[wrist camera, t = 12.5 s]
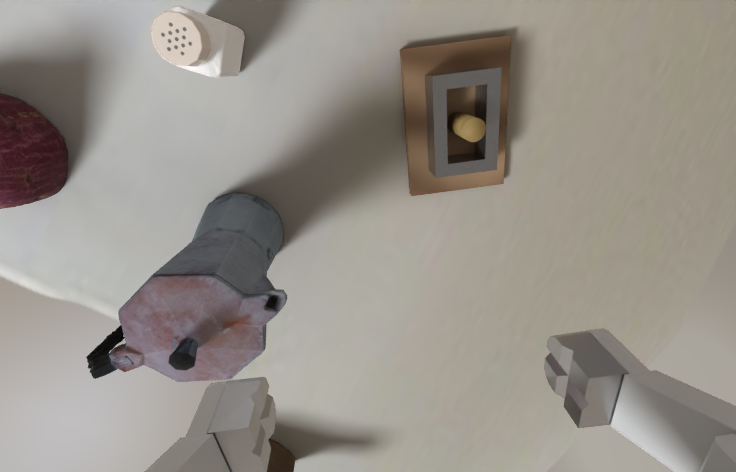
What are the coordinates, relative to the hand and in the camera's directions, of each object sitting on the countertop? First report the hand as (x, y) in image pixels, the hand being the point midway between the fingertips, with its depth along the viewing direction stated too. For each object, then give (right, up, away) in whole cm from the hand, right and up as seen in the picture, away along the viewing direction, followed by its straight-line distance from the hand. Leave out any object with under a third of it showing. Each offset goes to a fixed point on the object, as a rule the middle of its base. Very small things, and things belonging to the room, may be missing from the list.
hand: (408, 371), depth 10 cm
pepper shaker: (-14, +21, +22) cm, 33 cm away
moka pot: (-15, +4, +29) cm, 33 cm away
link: (+8, +15, +25) cm, 30 cm away
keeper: (+8, +16, +26) cm, 31 cm away
